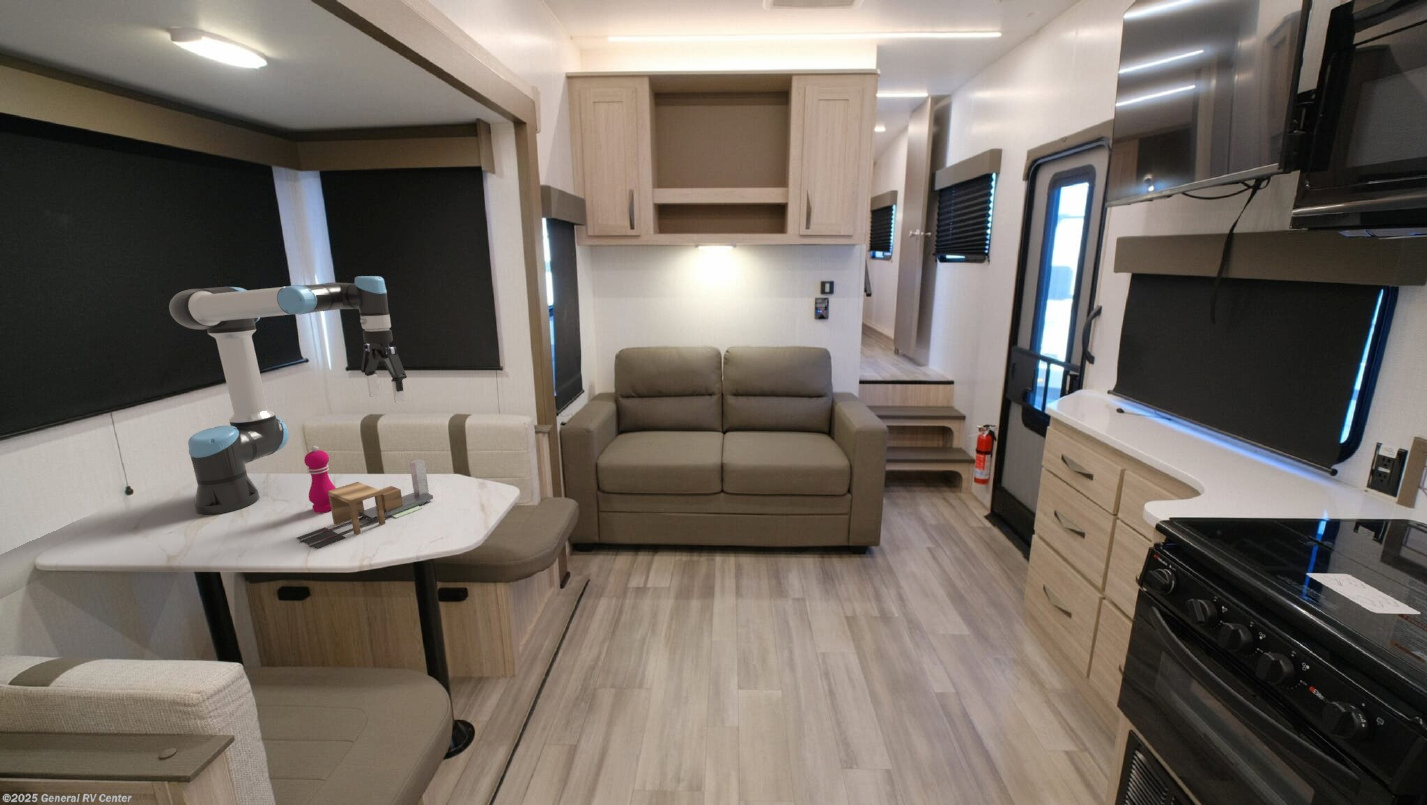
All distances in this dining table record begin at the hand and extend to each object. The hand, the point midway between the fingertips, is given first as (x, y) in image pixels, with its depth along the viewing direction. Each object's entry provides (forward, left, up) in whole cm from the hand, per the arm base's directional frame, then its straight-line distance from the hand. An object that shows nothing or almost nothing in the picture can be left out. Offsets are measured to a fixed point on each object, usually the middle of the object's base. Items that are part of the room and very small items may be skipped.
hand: (387, 398), depth 174 cm
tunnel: (+10, -18, -32) cm, 38 cm away
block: (+10, -9, -30) cm, 33 cm away
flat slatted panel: (+10, -28, -32) cm, 43 cm away
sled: (+10, -7, -31) cm, 33 cm away
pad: (+10, -6, -32) cm, 34 cm away
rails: (+10, -16, -32) cm, 37 cm away
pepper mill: (-9, -18, -32) cm, 38 cm away
